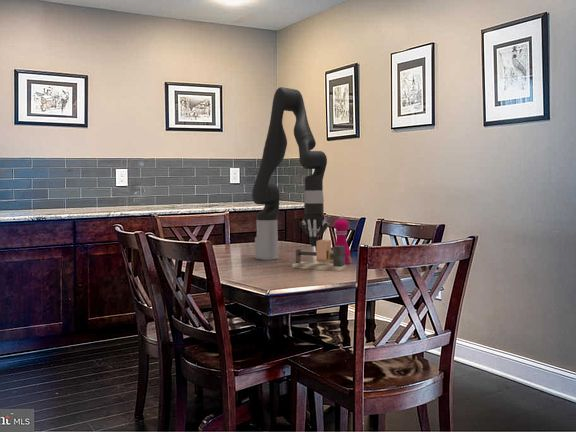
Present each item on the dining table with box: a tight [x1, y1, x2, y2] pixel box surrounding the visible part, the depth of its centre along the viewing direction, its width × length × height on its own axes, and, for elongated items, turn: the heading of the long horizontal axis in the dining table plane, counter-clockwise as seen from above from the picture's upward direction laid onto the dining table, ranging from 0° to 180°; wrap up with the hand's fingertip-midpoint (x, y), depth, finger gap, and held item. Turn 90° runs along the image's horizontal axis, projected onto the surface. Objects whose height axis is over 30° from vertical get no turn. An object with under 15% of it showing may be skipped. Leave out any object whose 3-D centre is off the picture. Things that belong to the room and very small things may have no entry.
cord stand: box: [291, 245, 347, 272], centre depth 222 cm, size 20×7×9 cm, turn 62°
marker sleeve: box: [315, 239, 332, 262], centre depth 221 cm, size 4×5×8 cm
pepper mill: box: [333, 214, 351, 265], centre depth 234 cm, size 7×7×20 cm
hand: (314, 246), depth 223 cm, fingers closed
